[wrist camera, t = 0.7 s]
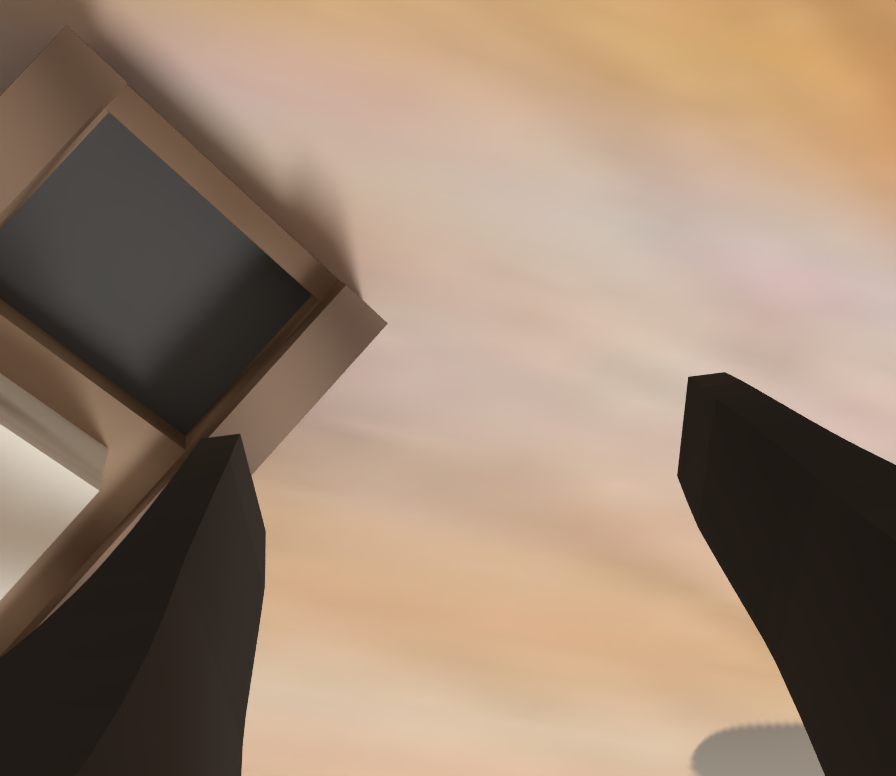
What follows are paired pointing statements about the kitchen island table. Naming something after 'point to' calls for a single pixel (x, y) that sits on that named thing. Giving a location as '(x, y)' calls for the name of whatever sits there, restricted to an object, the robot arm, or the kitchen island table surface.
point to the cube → (39, 478)
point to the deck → (145, 303)
